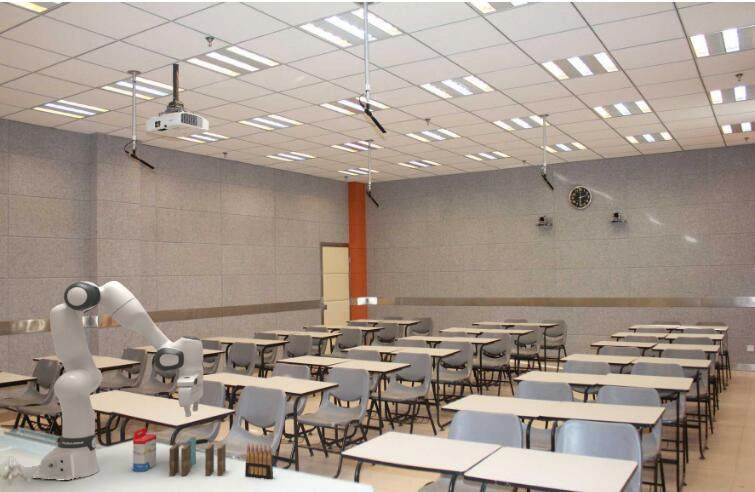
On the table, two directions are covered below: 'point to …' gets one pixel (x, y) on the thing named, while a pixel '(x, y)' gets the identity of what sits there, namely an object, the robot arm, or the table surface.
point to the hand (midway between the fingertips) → (191, 413)
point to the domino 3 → (192, 449)
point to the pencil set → (259, 462)
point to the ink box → (144, 450)
